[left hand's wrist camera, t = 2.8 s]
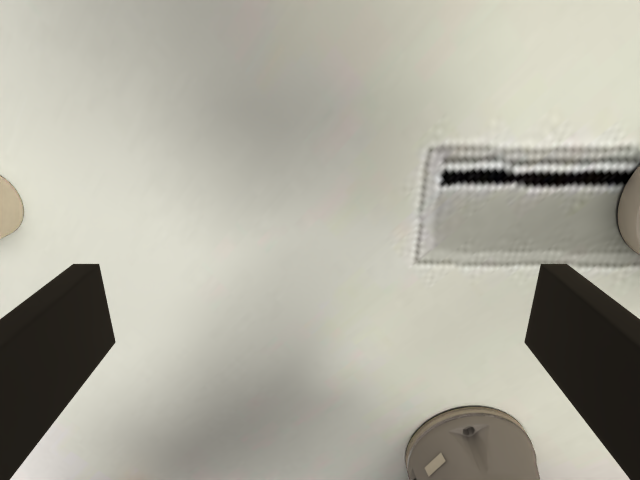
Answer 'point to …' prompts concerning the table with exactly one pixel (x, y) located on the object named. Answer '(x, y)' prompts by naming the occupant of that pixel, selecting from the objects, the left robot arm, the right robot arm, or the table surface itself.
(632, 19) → the table surface
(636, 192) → the bust sculpture
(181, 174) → the table surface
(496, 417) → the right robot arm
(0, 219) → the bottle
